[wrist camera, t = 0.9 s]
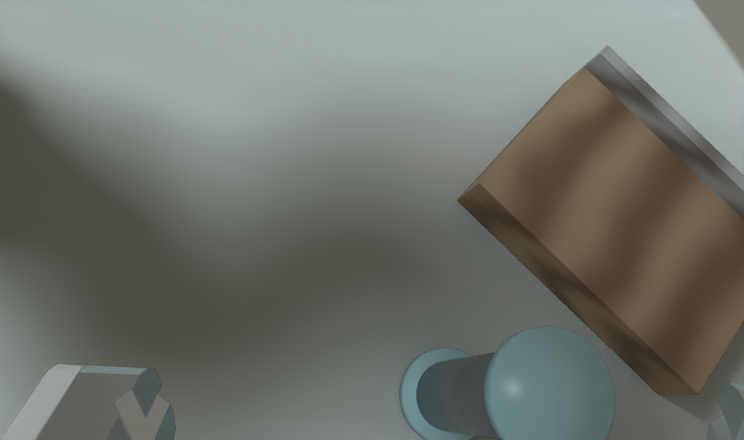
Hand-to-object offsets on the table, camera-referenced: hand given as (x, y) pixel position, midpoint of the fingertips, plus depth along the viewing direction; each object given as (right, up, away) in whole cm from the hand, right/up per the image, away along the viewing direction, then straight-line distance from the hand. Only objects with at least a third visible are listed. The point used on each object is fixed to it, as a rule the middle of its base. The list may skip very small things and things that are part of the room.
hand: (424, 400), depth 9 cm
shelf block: (+17, +2, +39) cm, 43 cm away
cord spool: (+4, -9, +33) cm, 34 cm away
